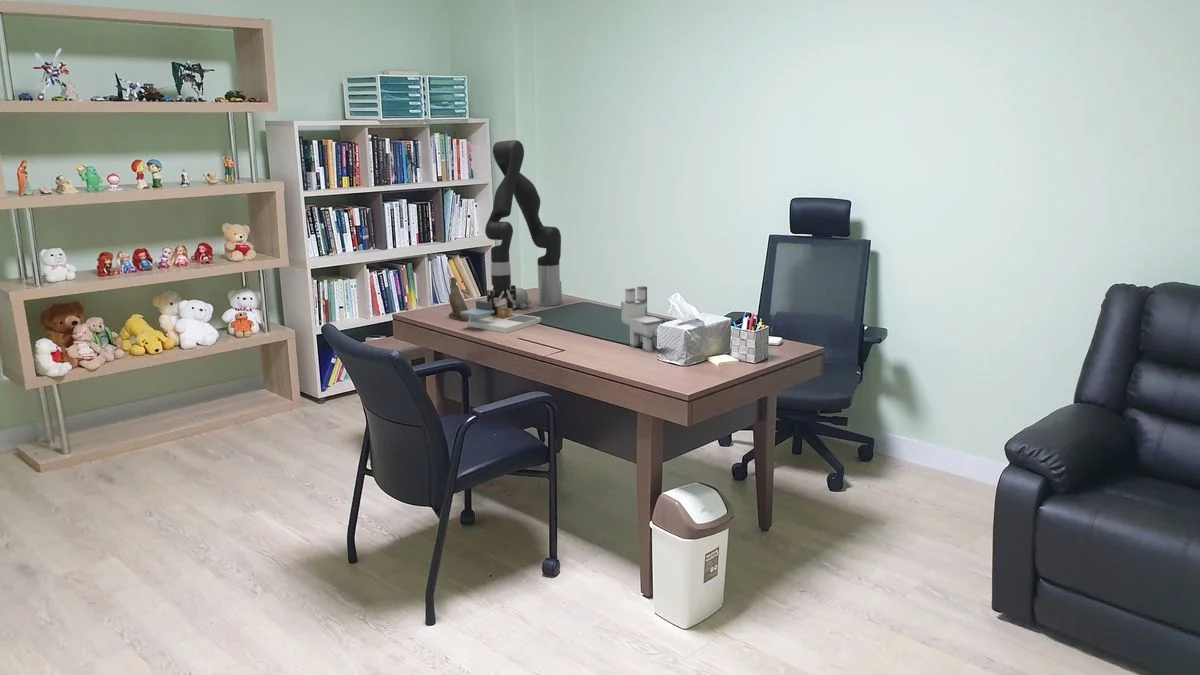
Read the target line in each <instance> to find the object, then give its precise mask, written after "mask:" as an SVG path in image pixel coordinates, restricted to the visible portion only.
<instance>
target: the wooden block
mask: <svg viewBox="0 0 1200 675" xmlns="http://www.w3.org/2000/svg"><path fill="white" fill-rule="evenodd" d="M497 311H498V315H497V316H494V317H496V318H502V319H505V318H508V317H512V313H513V310H512V308H505V307H501V308H497Z"/></svg>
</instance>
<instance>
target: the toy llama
mask: <svg viewBox="0 0 1200 675" xmlns="http://www.w3.org/2000/svg"><path fill="white" fill-rule="evenodd" d="M624 290H625V291H624V292H625V294H624V295H625V296H624V299H625V300H622V301H620V302H621V303H620V304H621V307H620V308H621V309H620V312H621V313H620V314H621V318H620V319H621V322H620V323H622V324H625V325H628V326H629V347H632V348H638V347H637V346H639V347H641V344H642V343H643V344H642V351H643V352H646V353H649V352H653V351H654V349H656V346H657V328H658V326H659V325H660V324H663V323H665V324H666V322H665V319H661V318H658V317H654V316H652V315H648V287H647V286H644V285H641V286H637V287H636V288H633V287H626V288H625V289H624ZM640 337H641V338H640ZM656 350H657V349H656Z"/></svg>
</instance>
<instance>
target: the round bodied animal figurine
mask: <svg viewBox="0 0 1200 675" xmlns="http://www.w3.org/2000/svg"><path fill="white" fill-rule="evenodd" d="M504 303H506V308H507V300H506V299H505V302H504ZM530 305H532V300H531V299H530V298H529V295H528V292H527V291H526V289H524V288H521V287H516V300H514V301H513V307H515V308H517V309H521V310H524V309H526V308H527V306H530Z"/></svg>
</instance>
